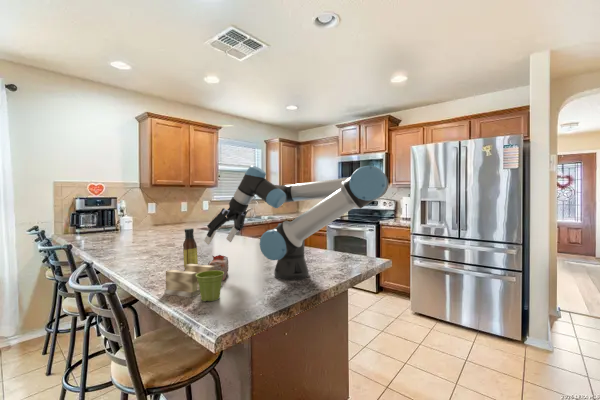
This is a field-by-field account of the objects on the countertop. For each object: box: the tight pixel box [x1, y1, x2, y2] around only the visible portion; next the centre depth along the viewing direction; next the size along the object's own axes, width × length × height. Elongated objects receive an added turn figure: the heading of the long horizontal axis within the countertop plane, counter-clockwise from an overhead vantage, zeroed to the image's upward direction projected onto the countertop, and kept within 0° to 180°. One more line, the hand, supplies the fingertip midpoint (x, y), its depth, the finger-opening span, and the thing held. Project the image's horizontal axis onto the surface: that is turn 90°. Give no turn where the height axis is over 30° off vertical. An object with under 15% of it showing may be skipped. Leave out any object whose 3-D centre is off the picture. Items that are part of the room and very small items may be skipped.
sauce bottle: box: [182, 227, 199, 268], centre depth 140 cm, size 7×6×20 cm
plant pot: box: [196, 270, 224, 302], centre depth 100 cm, size 9×9×9 cm
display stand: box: [163, 264, 214, 298], centre depth 110 cm, size 12×14×8 cm
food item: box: [207, 254, 229, 282], centre depth 126 cm, size 14×8×10 cm, turn 8°
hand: (218, 241), depth 126 cm, fingers open, 13 cm apart
